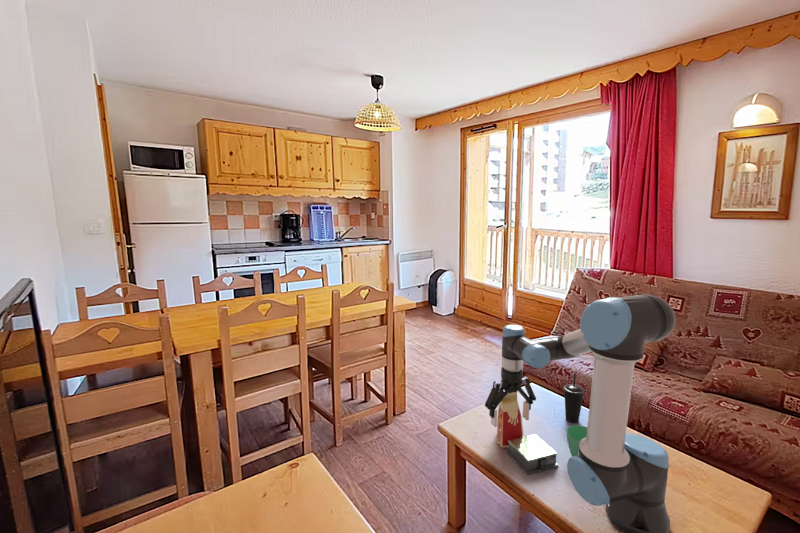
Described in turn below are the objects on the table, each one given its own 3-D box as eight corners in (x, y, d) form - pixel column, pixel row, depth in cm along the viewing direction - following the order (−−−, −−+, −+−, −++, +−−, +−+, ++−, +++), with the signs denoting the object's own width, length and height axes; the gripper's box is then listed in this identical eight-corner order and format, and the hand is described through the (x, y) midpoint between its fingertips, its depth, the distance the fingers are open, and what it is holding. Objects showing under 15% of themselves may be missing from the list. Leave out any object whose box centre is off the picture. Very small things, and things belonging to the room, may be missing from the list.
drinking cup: (557, 417, 157) (560, 371, 154) (571, 413, 160) (573, 368, 157) (573, 427, 150) (576, 379, 147) (586, 422, 153) (589, 375, 150)
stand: (558, 467, 127) (559, 454, 126) (527, 475, 124) (528, 461, 123) (534, 446, 139) (535, 433, 138) (506, 452, 135) (506, 439, 134)
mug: (589, 473, 124) (590, 445, 122) (559, 459, 131) (561, 432, 130) (606, 454, 134) (608, 428, 132) (578, 441, 141) (580, 416, 139)
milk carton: (518, 434, 146) (520, 385, 143) (523, 449, 137) (525, 397, 134) (494, 432, 147) (495, 384, 144) (497, 447, 138) (499, 396, 135)
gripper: (534, 358, 145) (532, 410, 148) (476, 368, 137) (474, 422, 141) (548, 366, 138) (544, 420, 141) (486, 377, 130) (485, 433, 134)
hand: (509, 421), depth 141 cm, fingers open, 13 cm apart
